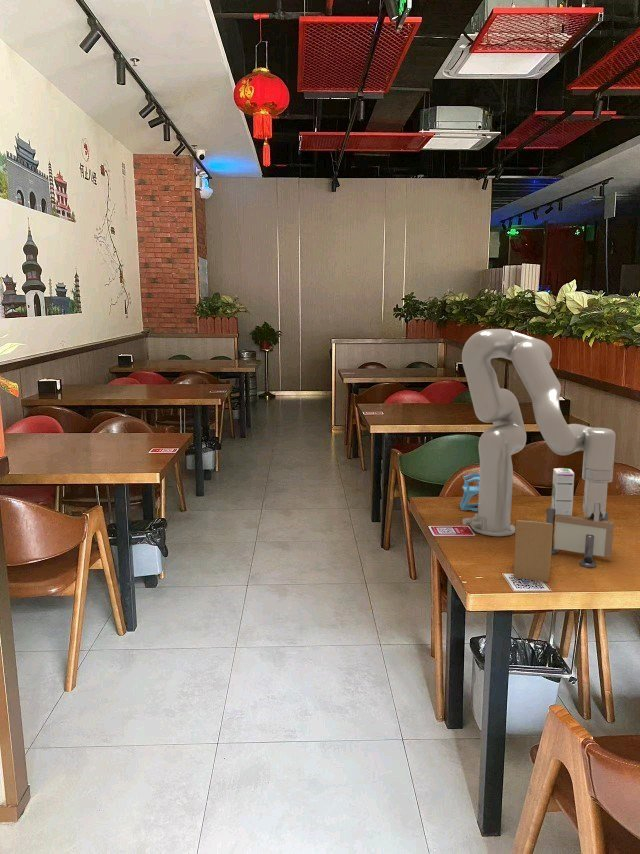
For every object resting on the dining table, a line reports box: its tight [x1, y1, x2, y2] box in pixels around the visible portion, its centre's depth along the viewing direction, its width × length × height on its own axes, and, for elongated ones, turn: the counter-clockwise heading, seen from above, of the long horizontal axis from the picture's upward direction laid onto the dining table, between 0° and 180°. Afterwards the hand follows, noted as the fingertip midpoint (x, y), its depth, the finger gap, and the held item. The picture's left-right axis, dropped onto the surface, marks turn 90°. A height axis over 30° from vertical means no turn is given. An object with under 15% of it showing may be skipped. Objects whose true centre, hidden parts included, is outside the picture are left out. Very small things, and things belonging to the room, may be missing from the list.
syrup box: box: [550, 467, 575, 516], centre depth 212 cm, size 6×6×14 cm
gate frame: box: [545, 507, 609, 569], centre depth 175 cm, size 21×16×12 cm
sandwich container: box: [513, 519, 553, 583], centre depth 166 cm, size 9×15×15 cm, turn 160°
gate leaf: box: [553, 514, 615, 559], centre depth 174 cm, size 14×2×9 cm, turn 63°
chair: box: [459, 472, 480, 512], centre depth 216 cm, size 8×8×12 cm
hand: (592, 539), depth 177 cm, fingers closed
